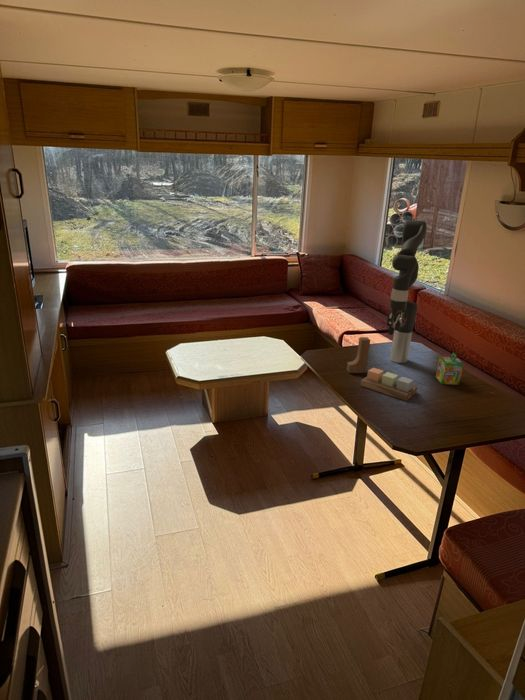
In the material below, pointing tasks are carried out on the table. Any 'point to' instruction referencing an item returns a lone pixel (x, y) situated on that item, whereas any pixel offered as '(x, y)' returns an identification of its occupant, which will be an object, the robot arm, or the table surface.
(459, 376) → the chalk box
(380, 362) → the table surface
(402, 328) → the robot arm
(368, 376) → the terracotta key
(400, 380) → the slate key
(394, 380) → the sage key
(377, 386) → the wooden tray
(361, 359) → the wooden block
